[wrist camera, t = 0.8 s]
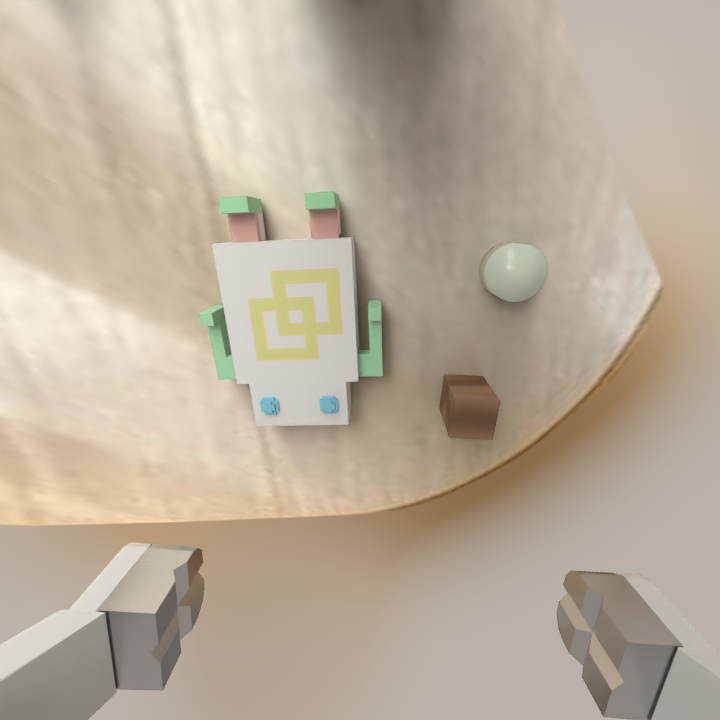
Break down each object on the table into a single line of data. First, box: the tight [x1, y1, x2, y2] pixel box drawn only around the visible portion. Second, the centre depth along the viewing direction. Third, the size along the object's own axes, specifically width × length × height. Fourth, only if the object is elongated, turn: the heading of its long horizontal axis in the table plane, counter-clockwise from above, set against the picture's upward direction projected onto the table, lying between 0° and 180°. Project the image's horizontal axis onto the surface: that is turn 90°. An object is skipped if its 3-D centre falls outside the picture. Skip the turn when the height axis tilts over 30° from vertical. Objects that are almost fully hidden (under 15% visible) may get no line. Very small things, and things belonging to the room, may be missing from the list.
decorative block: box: [199, 192, 383, 426], centre depth 41 cm, size 26×6×20 cm
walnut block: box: [440, 374, 500, 440], centre depth 44 cm, size 5×5×7 cm
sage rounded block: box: [479, 242, 548, 302], centre depth 39 cm, size 6×6×4 cm
